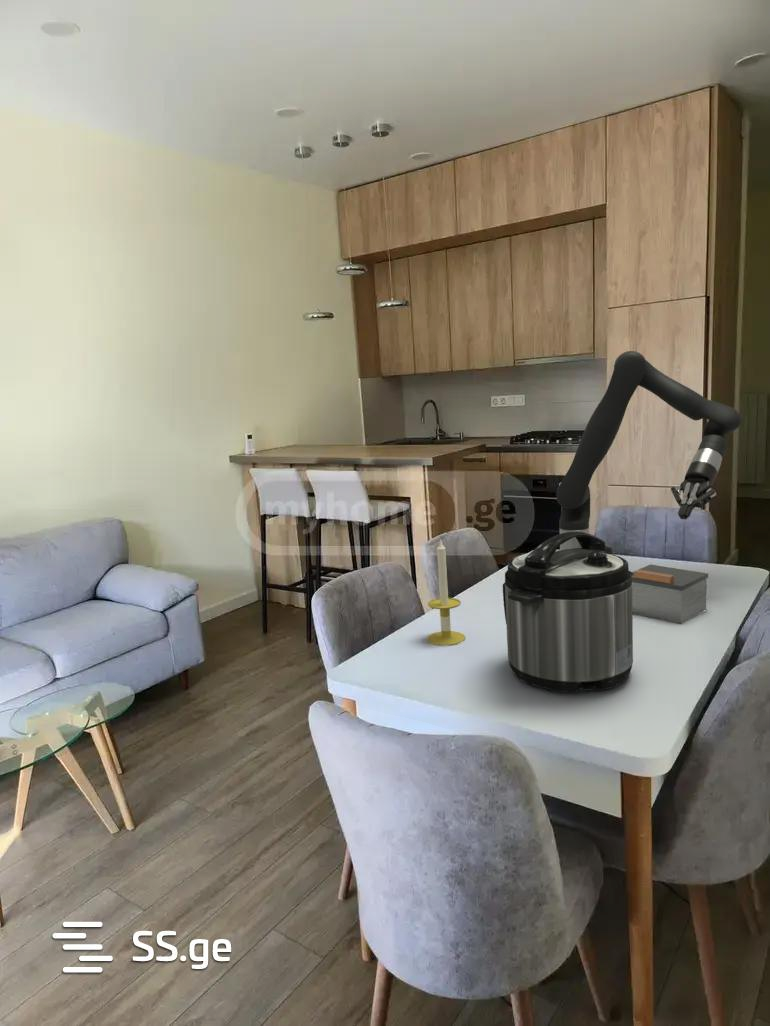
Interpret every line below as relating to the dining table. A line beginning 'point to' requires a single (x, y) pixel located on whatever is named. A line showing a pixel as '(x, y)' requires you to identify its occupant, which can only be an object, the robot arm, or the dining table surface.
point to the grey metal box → (669, 601)
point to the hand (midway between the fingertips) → (682, 517)
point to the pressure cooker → (569, 615)
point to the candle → (444, 606)
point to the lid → (667, 577)
